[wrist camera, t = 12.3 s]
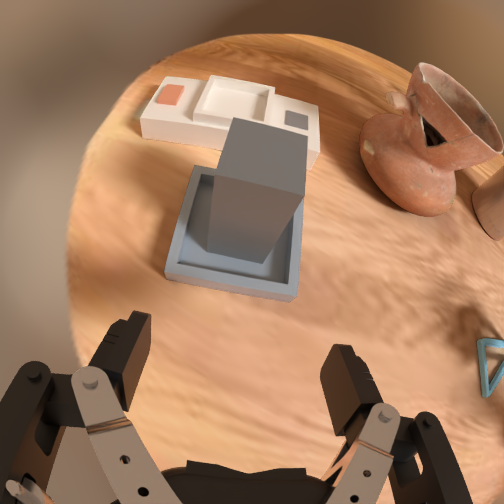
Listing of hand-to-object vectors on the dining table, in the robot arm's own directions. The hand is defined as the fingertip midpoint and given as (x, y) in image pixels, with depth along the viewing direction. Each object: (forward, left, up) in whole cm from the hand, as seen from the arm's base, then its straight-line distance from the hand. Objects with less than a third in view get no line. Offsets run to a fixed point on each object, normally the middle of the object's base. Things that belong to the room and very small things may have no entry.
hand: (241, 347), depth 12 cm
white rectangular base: (-19, -14, -10) cm, 25 cm away
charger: (-9, -5, -9) cm, 14 cm away
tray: (-9, -5, -10) cm, 14 cm away
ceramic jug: (-30, +5, -10) cm, 31 cm away
